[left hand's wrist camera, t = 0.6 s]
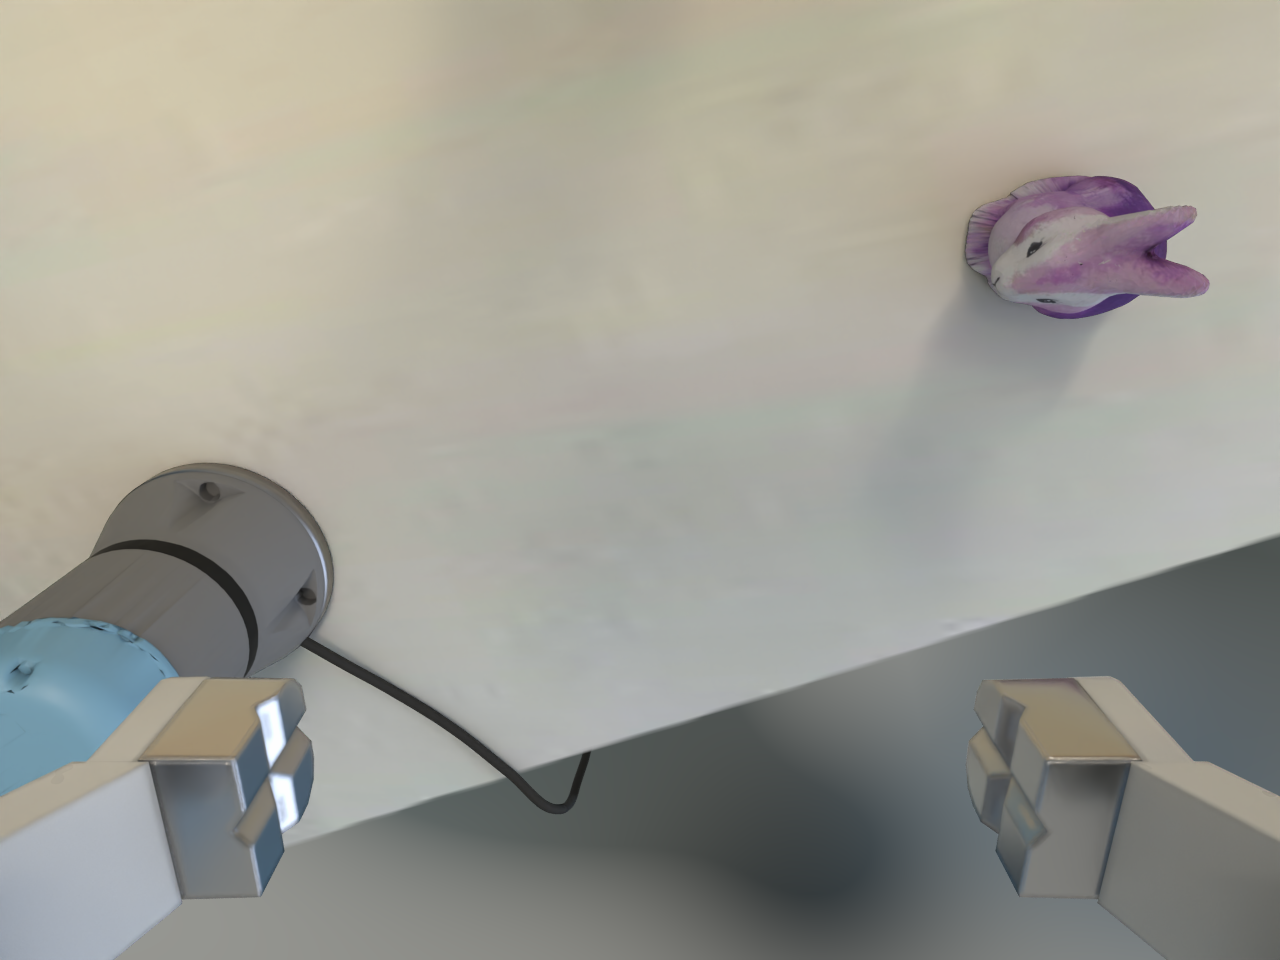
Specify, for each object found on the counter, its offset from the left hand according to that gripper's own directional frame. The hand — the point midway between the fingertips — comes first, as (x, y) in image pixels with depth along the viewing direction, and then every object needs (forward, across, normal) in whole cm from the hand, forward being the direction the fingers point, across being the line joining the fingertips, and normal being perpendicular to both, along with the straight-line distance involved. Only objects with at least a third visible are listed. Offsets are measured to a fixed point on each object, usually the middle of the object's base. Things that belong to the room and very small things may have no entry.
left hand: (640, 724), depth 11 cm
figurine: (+47, -24, -1) cm, 53 cm away
